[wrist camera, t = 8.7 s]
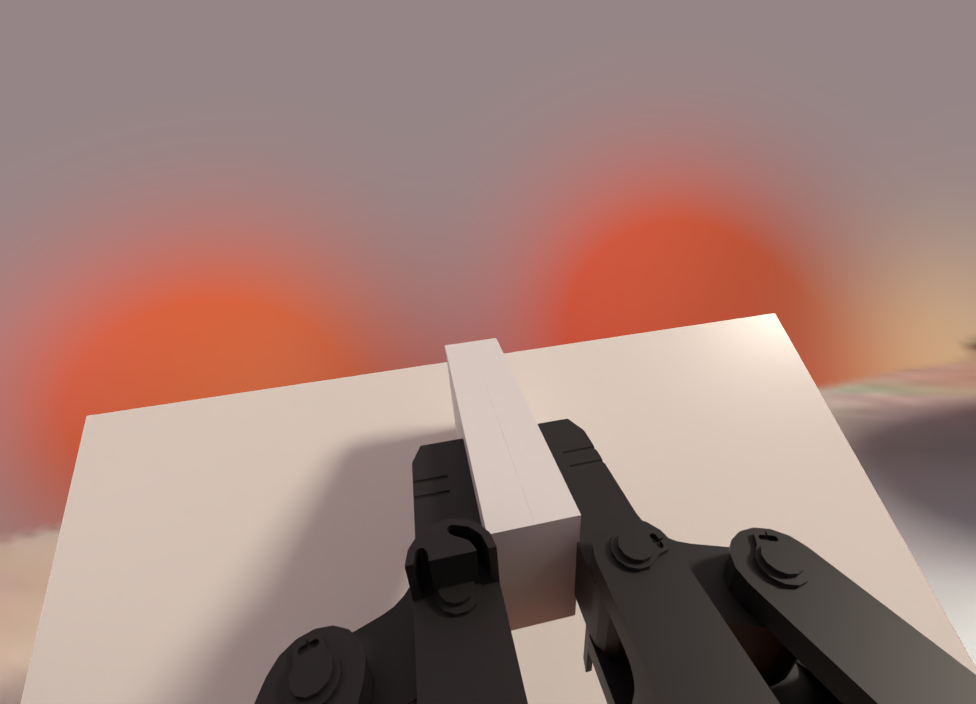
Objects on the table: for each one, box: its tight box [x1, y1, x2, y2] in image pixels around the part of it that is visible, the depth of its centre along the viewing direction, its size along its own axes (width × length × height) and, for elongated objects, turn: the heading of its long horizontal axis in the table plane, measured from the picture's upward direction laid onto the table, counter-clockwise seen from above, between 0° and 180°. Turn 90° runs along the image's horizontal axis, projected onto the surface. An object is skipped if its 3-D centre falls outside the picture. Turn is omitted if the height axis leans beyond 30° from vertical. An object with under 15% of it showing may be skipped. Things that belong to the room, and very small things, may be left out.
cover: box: [20, 313, 976, 704], centre depth 12 cm, size 24×14×1 cm
